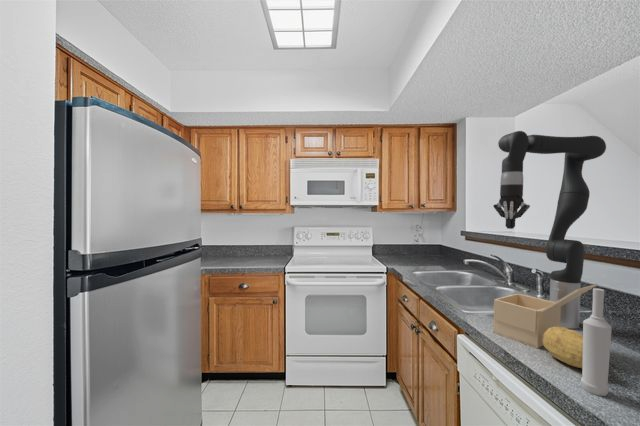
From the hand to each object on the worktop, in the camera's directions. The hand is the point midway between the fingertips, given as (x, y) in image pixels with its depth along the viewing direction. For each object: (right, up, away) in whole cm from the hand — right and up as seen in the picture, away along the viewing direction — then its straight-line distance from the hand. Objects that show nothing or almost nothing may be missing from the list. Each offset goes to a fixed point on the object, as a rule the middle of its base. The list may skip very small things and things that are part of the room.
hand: (510, 228), depth 119 cm
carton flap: (+5, -21, -22) cm, 31 cm away
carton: (-2, -37, -11) cm, 39 cm away
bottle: (-7, -38, -44) cm, 58 cm away
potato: (-2, -38, -31) cm, 49 cm away
